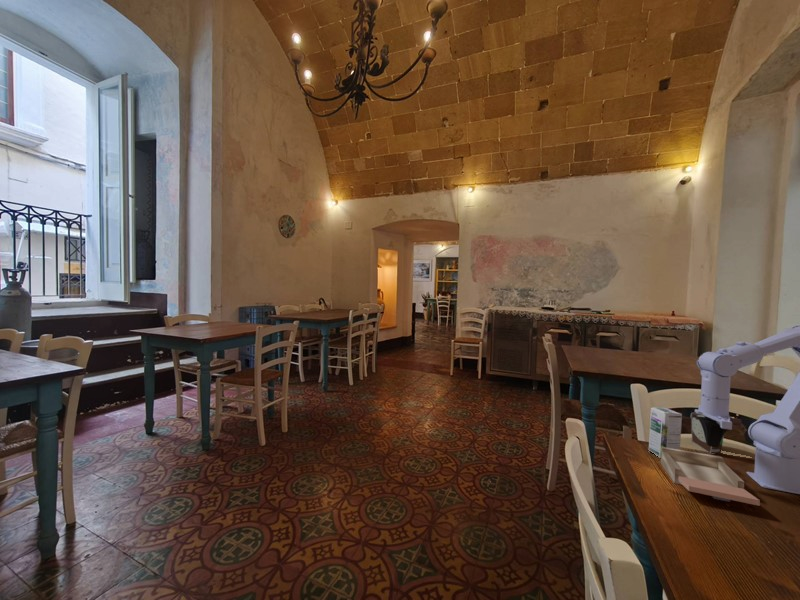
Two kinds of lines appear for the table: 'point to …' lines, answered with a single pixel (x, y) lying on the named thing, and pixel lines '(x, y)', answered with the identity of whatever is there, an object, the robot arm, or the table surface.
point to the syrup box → (664, 430)
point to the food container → (702, 435)
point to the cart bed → (698, 467)
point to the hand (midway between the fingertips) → (712, 445)
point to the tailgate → (718, 491)
